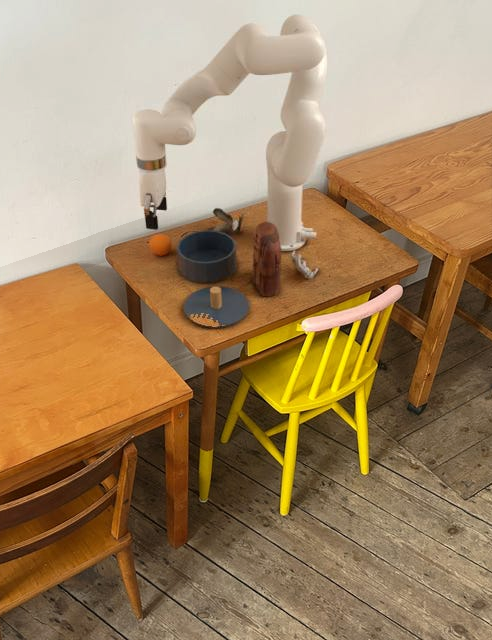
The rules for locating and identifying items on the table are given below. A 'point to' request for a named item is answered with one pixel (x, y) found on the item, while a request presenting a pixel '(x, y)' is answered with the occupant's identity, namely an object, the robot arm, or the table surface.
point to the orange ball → (160, 244)
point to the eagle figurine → (227, 219)
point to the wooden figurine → (267, 259)
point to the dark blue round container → (207, 256)
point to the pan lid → (217, 305)
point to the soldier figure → (303, 266)
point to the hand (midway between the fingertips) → (156, 219)
